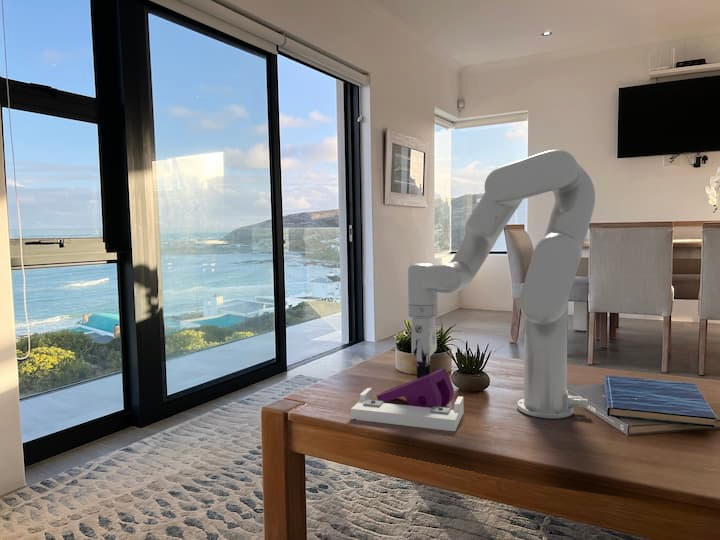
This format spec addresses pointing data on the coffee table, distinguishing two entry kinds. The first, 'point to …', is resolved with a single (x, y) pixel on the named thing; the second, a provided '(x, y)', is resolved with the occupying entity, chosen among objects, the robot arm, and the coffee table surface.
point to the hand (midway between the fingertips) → (423, 379)
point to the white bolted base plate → (407, 413)
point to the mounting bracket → (423, 391)
